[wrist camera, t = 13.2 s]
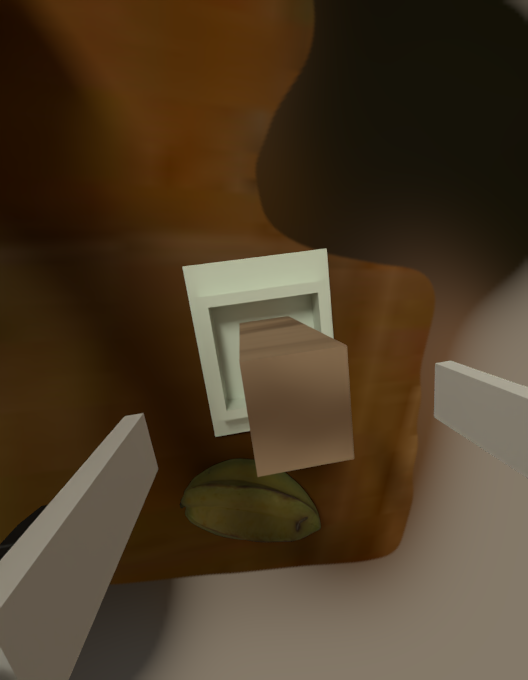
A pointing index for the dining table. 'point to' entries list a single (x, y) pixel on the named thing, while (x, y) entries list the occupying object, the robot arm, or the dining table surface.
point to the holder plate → (250, 317)
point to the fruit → (249, 504)
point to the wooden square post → (295, 395)
